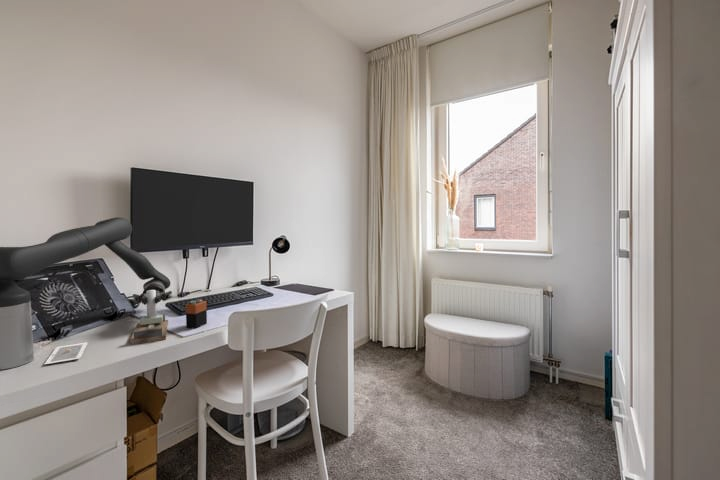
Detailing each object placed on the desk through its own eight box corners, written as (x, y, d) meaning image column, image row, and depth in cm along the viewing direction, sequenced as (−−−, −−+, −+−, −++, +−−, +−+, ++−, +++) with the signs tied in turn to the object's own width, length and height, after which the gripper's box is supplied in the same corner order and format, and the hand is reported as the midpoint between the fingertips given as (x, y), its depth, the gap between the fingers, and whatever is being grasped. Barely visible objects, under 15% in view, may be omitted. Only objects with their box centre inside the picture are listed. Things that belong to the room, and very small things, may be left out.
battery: (185, 328, 128) (184, 302, 127) (197, 322, 134) (197, 297, 134) (195, 328, 127) (195, 302, 126) (207, 323, 133) (206, 298, 133)
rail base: (130, 344, 111) (130, 332, 110) (137, 327, 128) (137, 316, 128) (165, 339, 115) (165, 328, 115) (168, 323, 133) (167, 313, 133)
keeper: (140, 325, 123) (139, 292, 123) (141, 322, 127) (140, 290, 126) (162, 322, 127) (161, 290, 126) (163, 319, 130) (162, 288, 130)
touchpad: (88, 345, 111) (87, 339, 111) (80, 361, 98) (79, 354, 98) (56, 350, 107) (56, 343, 107) (44, 368, 94) (43, 360, 94)
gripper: (133, 284, 136) (127, 293, 120) (173, 281, 142) (172, 289, 127) (134, 303, 136) (128, 313, 121) (173, 299, 143) (172, 309, 127)
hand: (150, 301), depth 124 cm, fingers closed on keeper, 3 cm apart
